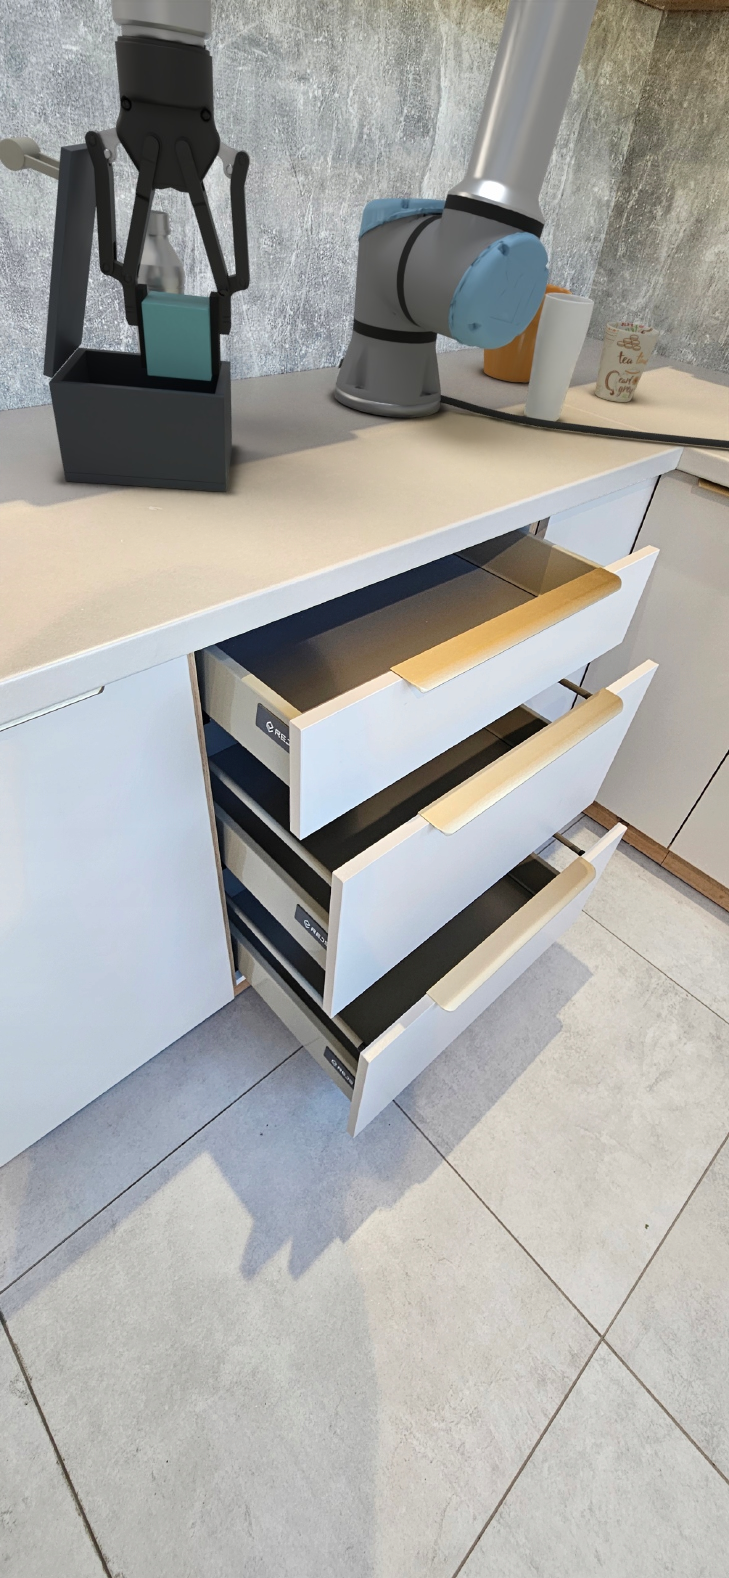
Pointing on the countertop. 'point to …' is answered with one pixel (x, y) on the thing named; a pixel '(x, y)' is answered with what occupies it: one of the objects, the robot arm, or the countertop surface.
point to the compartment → (141, 423)
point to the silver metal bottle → (160, 259)
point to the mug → (623, 359)
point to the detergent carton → (177, 335)
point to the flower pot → (517, 350)
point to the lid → (63, 240)
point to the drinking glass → (556, 353)
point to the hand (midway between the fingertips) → (182, 367)
